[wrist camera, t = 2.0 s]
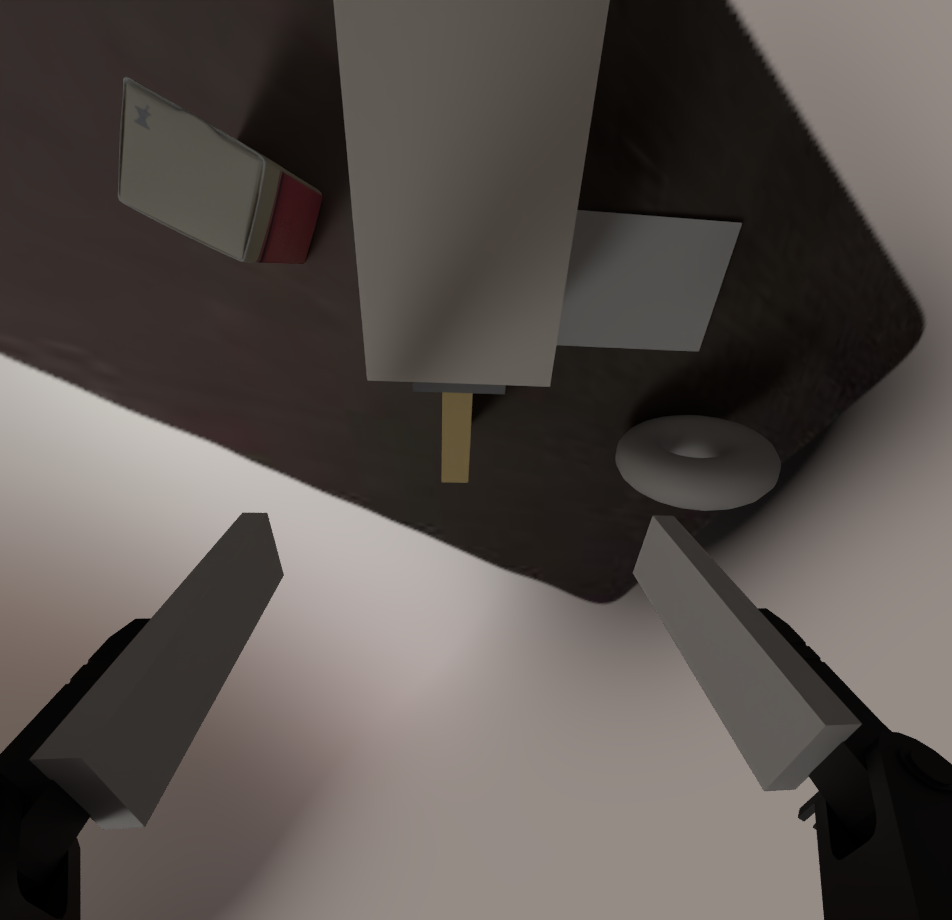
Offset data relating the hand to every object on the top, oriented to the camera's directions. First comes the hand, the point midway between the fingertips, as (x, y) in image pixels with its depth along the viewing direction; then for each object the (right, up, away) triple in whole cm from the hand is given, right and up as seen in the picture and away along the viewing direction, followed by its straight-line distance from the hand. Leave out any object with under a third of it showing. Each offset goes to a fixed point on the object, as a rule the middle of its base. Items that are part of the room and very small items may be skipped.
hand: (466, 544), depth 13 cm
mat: (+11, +15, +12) cm, 22 cm away
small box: (-12, +18, +9) cm, 23 cm away
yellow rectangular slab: (-1, +10, +14) cm, 17 cm away
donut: (+15, +6, +17) cm, 24 cm away
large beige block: (-1, +17, +10) cm, 20 cm away
